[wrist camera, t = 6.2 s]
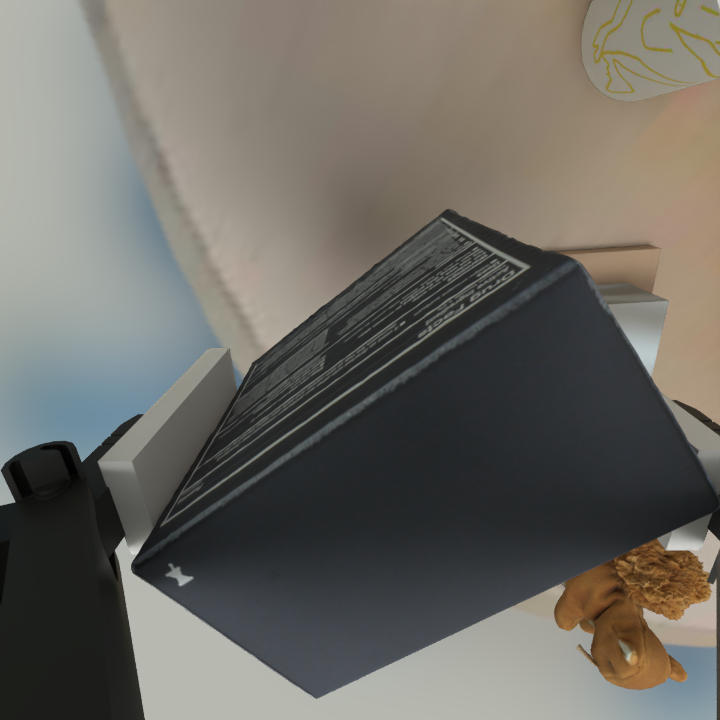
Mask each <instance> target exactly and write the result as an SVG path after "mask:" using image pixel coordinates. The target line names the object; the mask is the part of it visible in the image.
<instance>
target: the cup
mask: <svg viewBox="0 0 720 720" xmlns="http://www.w3.org/2000/svg"><path fill="white" fill-rule="evenodd" d="M581 53H582V60H583V64H584V68H585V71H586V73H587V75H588V77H589V79H590V81H591V82H592V83H593V85H594V86H595V87H596V88H597V89H598V90H599V91H600V92H601V93H603V94H604V95H606V96H608V97H610V98H612V99H615V100H619V101H626V102H632V101H640V100H644V99H648V98H652V97H655V96H659V95H662V94H666V93H670V92H673V91H677V90H680V89H684V88H687V87H691V86H695V85H698V84H702V83H705V82H709V81H713V80H716V79H720V0H592V2H591V4H590V7H589V9H588V11H587V14H586V17H585V21H584V25H583V30H582V38H581Z"/></svg>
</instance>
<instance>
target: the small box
mask: <svg viewBox="0 0 720 720" xmlns="http://www.w3.org/2000/svg"><path fill="white" fill-rule="evenodd" d="M719 508H720V497H719V495H718V493H717V491H716V489H715V487H714V485H713V483H712V481H711V479H710V477H709V475H708V473H707V471H706V469H705V468H704V466H703V464H702V463H701V461H700V459H699V458H698V456H697V454H696V452H695V451H694V449H693V447H692V446H691V444H690V443H689V441H688V440H687V438H686V435H685V433H684V432H683V430H682V428H681V427H680V425H679V423H678V422H677V420H676V418H675V416H674V414H673V412H672V411H671V409H670V407H669V406H668V404H667V403H666V402H665V400H664V398H663V396H662V395H661V393H660V391H659V389H658V388H657V386H656V385H655V384H654V382H653V380H652V378H651V376H650V374H649V373H648V371H647V370H646V368H645V366H644V365H643V363H642V361H641V359H640V357H639V355H638V354H637V352H636V350H635V349H634V347H633V346H632V344H631V343H630V341H629V339H628V338H627V336H626V335H625V333H624V331H623V330H622V328H621V326H620V325H619V323H618V321H617V320H616V318H615V316H614V315H613V313H612V311H611V310H610V308H609V306H608V305H607V303H606V301H605V300H604V298H603V297H602V295H601V293H600V291H599V290H598V288H597V286H596V284H595V283H594V281H593V279H592V277H591V276H590V274H589V273H588V272H587V270H586V269H585V267H584V266H583V264H581V263H580V262H579V261H578V260H576V259H574V258H572V257H570V256H566V255H563V254H561V253H558V252H552V251H548V252H545V251H543V250H542V249H540V248H537V247H535V246H532V245H526V244H524V243H522V242H519V241H517V240H516V239H514V238H509V237H508V236H507V235H504V234H502V233H501V232H499V231H496V230H493V229H491V228H488V227H486V226H484V225H482V224H479V223H477V222H474V221H472V220H470V219H468V218H466V217H462V216H460V215H459V214H458V213H457V212H455V211H454V210H450V209H447V210H445V211H444V212H443V213H441V214H440V215H439V216H438V217H437V218H435V219H434V220H433V221H432V222H430V223H429V224H427V225H426V226H425V227H423V228H422V229H421V230H420V231H418V232H417V233H416V234H415V235H413V236H412V237H411V238H409V239H408V240H407V241H406V242H404V243H403V244H402V245H401V246H399V247H398V248H397V249H396V250H394V251H393V252H392V253H391V254H389V255H388V256H387V257H386V258H384V259H383V260H382V261H380V262H379V263H377V264H375V265H374V266H373V267H372V268H371V269H370V270H369V271H368V272H366V273H365V274H364V275H363V276H361V277H360V278H359V279H357V280H356V281H355V282H354V283H352V284H351V285H350V286H349V287H348V288H346V289H345V290H344V291H342V292H341V293H340V294H339V295H337V296H336V297H335V298H333V299H332V300H331V301H330V302H328V303H327V304H326V305H324V306H322V307H321V308H320V309H319V310H317V311H316V312H315V313H314V314H313V315H311V316H310V317H309V318H308V319H307V320H306V321H304V322H303V323H302V324H300V325H299V326H298V327H297V328H295V329H293V331H292V332H290V333H289V334H288V335H287V336H285V337H284V338H283V339H282V340H281V341H279V342H278V343H277V344H276V345H274V346H273V347H272V348H271V349H270V350H268V351H267V352H266V353H265V354H263V355H262V356H261V357H260V358H259V359H257V360H256V361H254V362H253V363H252V365H251V367H250V369H249V371H248V373H247V374H246V376H245V378H244V379H243V382H242V384H241V386H240V387H239V389H238V391H237V393H236V395H235V396H234V398H233V400H232V401H231V402H230V405H229V407H228V408H227V410H226V411H225V413H224V415H223V416H222V418H221V420H220V422H219V423H218V425H217V427H216V429H215V430H214V431H213V433H212V434H211V435H210V436H209V438H208V439H207V441H206V443H205V445H204V446H203V448H202V450H201V451H200V452H199V454H198V456H197V458H196V459H195V461H194V463H193V464H192V465H191V467H190V470H189V471H188V472H187V474H186V475H185V477H184V479H183V481H182V482H181V484H180V485H179V487H178V489H177V490H176V491H175V493H174V495H173V497H172V499H171V501H170V502H169V504H168V505H167V506H166V508H165V509H164V511H163V513H162V514H161V516H160V517H159V519H158V521H157V523H156V525H155V527H154V528H153V530H152V531H151V533H150V535H149V536H148V538H147V540H146V541H145V542H144V544H143V545H142V547H141V549H140V551H139V553H138V554H137V556H136V557H135V559H134V560H133V562H132V564H131V570H132V572H133V574H135V575H136V576H138V577H140V578H141V579H142V580H144V581H145V582H147V583H149V584H150V585H151V586H153V587H155V588H156V589H157V590H159V591H160V592H161V593H162V594H164V595H166V596H167V597H169V598H170V599H172V600H173V601H174V602H176V603H177V604H179V605H180V606H182V607H183V608H185V609H186V610H187V611H188V612H190V613H192V614H193V615H195V616H196V617H198V618H199V619H200V620H201V621H203V622H204V623H205V624H207V625H209V626H210V627H212V628H213V629H214V630H216V631H217V632H219V633H220V634H222V635H223V636H225V637H226V638H227V639H229V640H230V641H231V642H233V643H234V644H236V645H237V646H239V647H240V648H241V649H243V650H244V651H247V652H248V653H249V654H251V655H252V656H254V657H255V658H257V659H258V660H259V661H260V662H262V663H263V664H265V665H266V666H267V667H269V668H270V669H272V670H273V671H274V672H276V673H278V674H279V675H280V676H282V677H283V678H285V679H286V680H288V681H289V682H291V683H292V684H293V685H295V686H296V687H298V688H300V689H301V690H303V691H304V692H305V693H307V694H308V695H310V696H311V697H313V698H316V699H317V698H320V697H322V696H324V695H326V694H328V693H330V692H332V691H335V690H336V689H338V688H341V687H343V686H345V685H347V684H349V683H351V682H353V681H355V680H358V679H360V678H362V677H364V676H366V675H368V674H370V673H372V672H374V671H376V670H378V669H380V668H382V667H384V666H387V665H389V664H391V663H393V662H395V661H397V660H399V659H402V658H404V657H405V656H408V655H410V654H412V653H414V652H416V651H419V650H421V649H423V648H425V647H427V646H429V645H431V644H433V643H436V642H437V641H440V640H442V639H444V638H446V637H448V636H450V635H453V634H455V633H457V632H459V631H461V630H463V629H465V628H467V627H469V626H472V625H473V624H476V623H478V622H480V621H482V620H484V619H486V618H488V617H490V616H492V615H495V614H497V613H499V612H501V611H503V610H505V609H507V608H510V607H512V606H514V605H516V604H518V603H520V602H523V601H525V600H527V599H529V598H531V597H533V596H535V595H537V594H540V593H542V592H544V591H546V590H548V589H550V588H552V587H554V586H556V585H559V584H561V583H563V582H565V581H567V580H569V579H571V578H574V577H576V576H578V575H580V574H582V573H584V572H586V571H589V570H591V569H593V568H595V567H597V566H599V565H601V564H603V563H606V562H608V561H610V560H612V559H614V558H616V557H618V556H620V555H622V554H625V553H627V552H629V551H631V550H633V549H635V548H637V547H640V546H642V545H644V544H646V543H648V542H650V541H653V540H655V539H657V538H659V537H661V536H663V535H665V534H667V533H670V532H672V531H674V530H676V529H678V528H680V527H682V526H684V525H687V524H689V523H691V522H693V521H695V520H698V519H700V518H702V517H704V516H707V515H709V514H711V513H713V512H716V511H717V510H718V509H719Z"/></svg>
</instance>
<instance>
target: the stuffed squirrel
mask: <svg viewBox="0 0 720 720" xmlns="http://www.w3.org/2000/svg"><path fill="white" fill-rule="evenodd" d="M702 564H703V562H699V561H698V556H695V555H693V553H691V552H690V551H688V550H665V548H664V547H663V546H662V545H661V543H660V542H659V541H658V540H657V539H655V540H653V541H650V542H648V543H646V544H644V545H642V546H640V547H637V548H635V549H633V550H631V551H629V552H627V553H625V554H622V555H620V556H618V557H616V558H614V559H612V560H610V561H608V562H606V563H603V564H601V565H599V566H597V567H595V568H593V569H591V570H589V571H586V572H584V573H582V574H580V575H578V576H576V577H574V578H571V579H569V580H567V581H565V582H563V583H561V584H562V585H563V586H564V587H565V588H566V589H565V590H564V592H563V594H562V596H561V597H560V599H559V600H558V602H557V604H556V606H555V610H554V615H555V620H556V623H557V625H558V626H559V627H560V628H562V629H564V630H567V631H570V630H572V629H573V628H574V627H575V626H576V625H577V624H578V623H579V624H580V626H581V628H582V629H583V630H584V631H585V632H588V633H591V634H594V637H593V642H592V645H591V655H592V657H593V658H592V657H591V656H590V655H589V654H588V653H587V652H586V651H585V650H584V649H583V648H582V646H581V645H578V646H577V649H578V650H579V651H580V652H581V653H582V654H583V655H584V656H585V657H586V658H587V659H588V660H589V661H590V662H591V663H593V664H594V665H595V666H597V667H598V669H599V671H600V673H601V674H602V675H603V676H604V678H605V679H606V680H607V681H609V682H611V683H612V684H615V685H617V686H620V687H624V688H627V689H639V690H642V689H647V688H652V687H654V686H657V685H659V684H662V683H664V682H665V681H666V679H667V678H668V677H669V678H671V679H673V680H675V681H678V682H683V681H685V680H686V679H687V673H686V672H685V670H684V669H683V667H682V666H681V664H680V663H679V662H677V661H676V660H675V659H674V658H672V657H671V656H670V655H668V654H667V652H666V650H665V648H664V647H663V645H662V643H661V642H660V640H659V639H658V638H657V637H656V635H655V634H654V633H653V632H652V631H651V630H650V629H649V627H648V625H647V623H646V621H645V619H644V618H643V608H645V607H646V609H648V610H650V611H653V612H655V613H656V614H663V615H664V616H665V617H667V618H669V620H673V619H674V620H676V621H677V620H678V619H681V616H683V614H684V613H683V612H684V610H685V609H686V608H689V605H691V604H695V603H701V602H702V601H705V602H706V600H708V599H709V598H710V596H711V593H712V591H711V590H710V589H711V588H710V585H709V584H711V583H709V582H707V580H708V577H709V575H710V574H709V573H708V572H705V571H703V570H702V569H703V566H702ZM716 579H717V578H716ZM642 607H643V608H642ZM585 654H586V655H587V656H588V657H589V658H588V657H587V656H586V655H585Z"/></svg>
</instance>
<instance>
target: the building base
mask: <svg viewBox="0 0 720 720" xmlns="http://www.w3.org/2000/svg"><path fill="white" fill-rule="evenodd" d="M661 249H662V248H658V247H654V246H650V245H647V246H633V247H618V248H603V249H588V250H573V251H558V253H561V254H563V255H566V256H570V257H572V258H574V259H576V260H578V261H579V262H580V263H581V264H583V266H584V267H585V269H586V270H587V272H588V273H589V274H590V276H591V277H592V279H593V281H594V283H595V284H596V286H597V288H598V290H599V291H600V293H601V295H602V297H603V298H604V300H605V301H606V303H607V305H608V306H609V308H610V310H611V311H612V313H613V315H614V316H615V318H616V320H617V321H618V323H619V325H620V326H621V328H622V330H623V331H624V333H625V335H626V336H627V338H628V339H629V341H630V343H631V344H632V346H633V347H634V349H635V350H636V352H637V354H638V355H639V357H640V359H641V361H642V363H643V365H644V366H645V368H646V370H647V371H648V373H649V374H650V376H652V372H653V368H654V364H655V359H656V355H657V351H658V346H659V342H660V338H661V333H662V329H663V325H664V321H665V316H666V312H667V308H668V303H669V301H668V300H666V299H664V298H661V297H659V296H657V295H654V294H652V291H653V286H654V282H655V277H656V272H657V267H658V263H659V258H660V253H661Z"/></svg>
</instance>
